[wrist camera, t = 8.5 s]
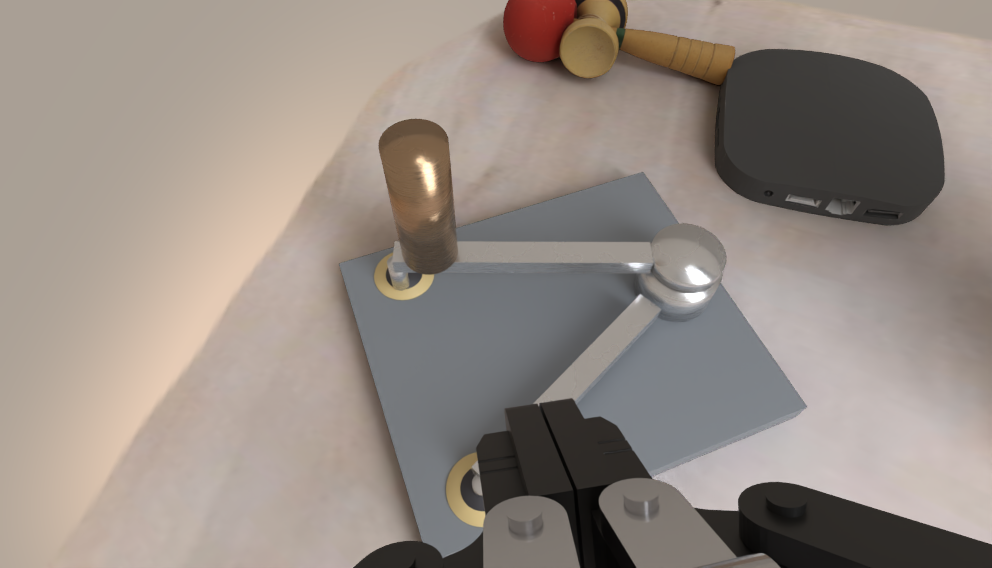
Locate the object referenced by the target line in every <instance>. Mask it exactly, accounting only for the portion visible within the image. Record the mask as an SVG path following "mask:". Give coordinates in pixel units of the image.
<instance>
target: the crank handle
mask: <svg viewBox="0 0 992 568" xmlns="http://www.w3.org/2000/svg"><path fill="white" fill-rule="evenodd" d="M379 151H380V156H381V160H382V165H383V169H384V174H385V178H386V183H387V188H388V192H389V197H390V201H391V206H392V210H393V215H394V219H395V224H396V228H397V233H398V237H399V241H395V242H394V251H393V256H391V257H389V259H388V260H387V266H388V270H389V273H390V277H391V281H392V285H393V287H394V289H396V290H398V291H403V290H405V289H407V288H408V287H409V284H410V282H409V277H408V273H420V274H425V275H432V274H437V273H650V271H651V273H652V275H653V276H654V277H655V278H656V279H657V281H658V282H660V283H661V284H662V285H664V286H665V287H667V288H669V289H671V290H673V291H676V292H680V293H687V294H693V293H700V292H703V291H705V290H708V289H709V288H711V287H712V286H713V285H714V284H715V283H716V282H717V280H718V278H719V276H720V275H721V273H722V271H723V269H724V267H725V264H726V253H725V250H724V247H723V245H722V244H721V242H720V241H719V240H718V238H717V237H715V236H714V235H713V234H712V233H711V232H709V231H707V230H706V229H704V228H702V227H699V226H696V225H692V224H673V225H670V226H667V227H665V228H663V229H662V230H660V231H659V232H658V233H657V234H656V236H655V237H654V239H653V241H652V244H651V245H650V242H484V241H457V234H456V222H455V211H454V199H453V188H452V177H451V165H450V154H449V142H448V136H447V134H446V132H445V131H444V130H443V128H441V127H440V126H439V125H437V124H436V123H434V122H431V121H428V120H423V119H408V120H404V121H400V122H398V123H395V124H394V125H392V126H390V127H389V128H388V129H387V130H385V132H384V133H383V134H382V136H381V138H380V140H379Z"/></svg>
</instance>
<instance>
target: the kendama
mask: <svg viewBox="0 0 992 568" xmlns="http://www.w3.org/2000/svg"><path fill="white" fill-rule="evenodd" d="M627 16H628V8H627V3H626V0H509V1H508V3H507V5H506V8H505V11H504V20H503V25H504V26H503V28H504V33H505V36H506V39H507V41H508V43H509V45H510V47H511V48H512V49H513V51H514V52H515V53H517V54H518V55H519V56H521V57H522V58H524V59H526V60H529V61H533V62H546V61H550V60H553V59H555V58H561V60H562V62H563V64H564V66H565V67H566V68H567V69H568V70H569V71H570V72H571V73H572V74H574V75H576V76H578V77H583V78H594V77H598V76H601V75H603V74H605V73H606V72H607V71H609V70H610V69H611V67H612V65H613V64H614V62H615V60H616V57H617V54H618V49H620V50H622V51H625V52H627V53H629V54H631V55H634V56H636V57H638V58H641V59H644V60H646V61H649V62H652V63H655V64H658V65H661V66H664V67H668V68H670V69H673V70H676V71H680V72H682V73H685V74H688V75H691V76H694V77H697V78H701V79H703V80H705V81H708V82H710V83H713V84H716V85H721V84H722V83H723V82H724V79H725V77H726V74H727V71H728V69H730V68H731V66H732V63H733V60H734V56H735V47H733V46H729V45H722V44H713V43H709V42H704V41H699V40H694V39H691V40H690V39H689V38H684V37H677V36H674V35H668V34H663V33H657V32H651V31H643V30H633V29H625V26H626V23H627Z"/></svg>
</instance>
